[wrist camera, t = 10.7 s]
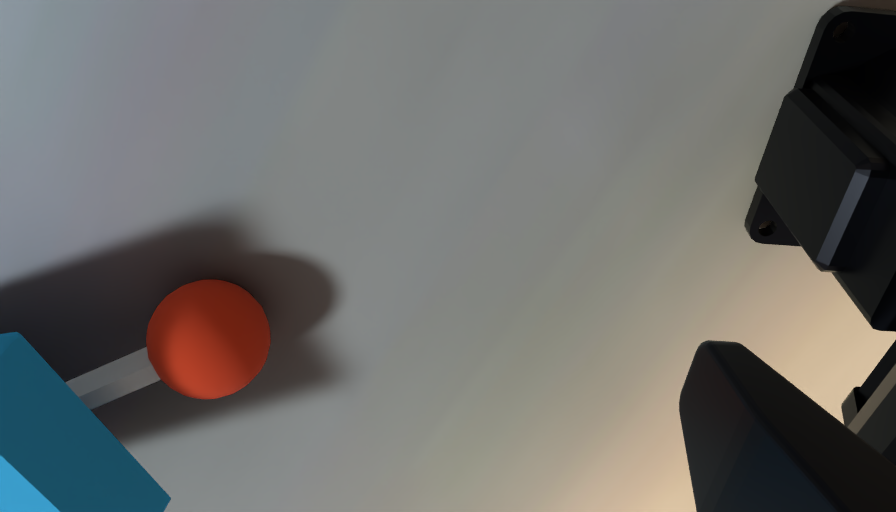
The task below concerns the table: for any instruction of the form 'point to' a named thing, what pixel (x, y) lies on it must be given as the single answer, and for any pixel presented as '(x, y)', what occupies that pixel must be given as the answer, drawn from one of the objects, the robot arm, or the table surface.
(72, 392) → the lever
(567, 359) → the table surface
